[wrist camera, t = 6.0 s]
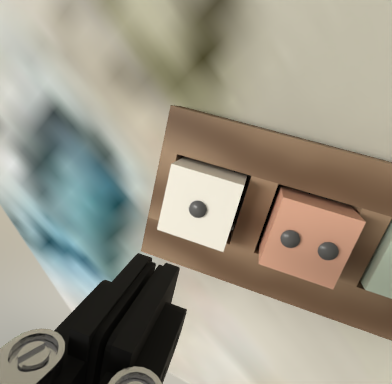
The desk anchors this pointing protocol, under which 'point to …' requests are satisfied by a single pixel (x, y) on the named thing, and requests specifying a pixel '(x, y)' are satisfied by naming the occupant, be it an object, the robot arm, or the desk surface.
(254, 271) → the button board
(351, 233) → the button two dots
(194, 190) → the button one dot
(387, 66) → the desk surface
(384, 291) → the button three dots
